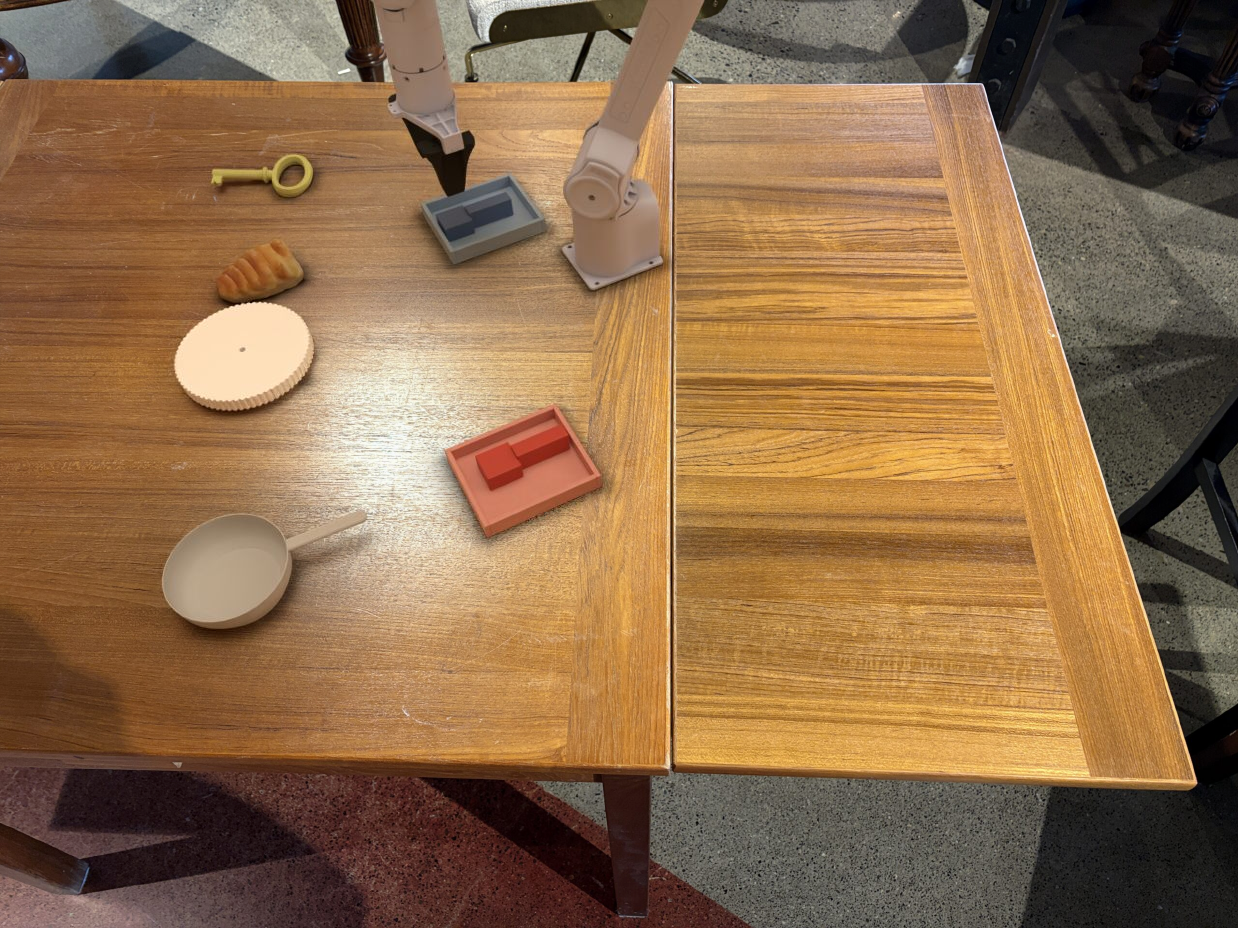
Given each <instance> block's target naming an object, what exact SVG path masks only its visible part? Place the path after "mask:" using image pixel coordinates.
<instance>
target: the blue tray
mask: <svg viewBox="0 0 1238 928" xmlns="http://www.w3.org/2000/svg"><path fill="white" fill-rule="evenodd" d="M523 188H524V187H522V186H521V184H520V182H519V181H518V180H517V178H516V177H515V176H514V174H513V173H512V172H508V173H506V174H503V175H500V176H497V177H494V178H491V179H487V180H485V181H482V182H478V183H476V184H473V185H470V186H467V187H465V191H464V192H462V193H459V194H456V195H453V196H450V197H447V195H446V194H444V195H441V196H438V197H435V198H432V199H429V200H426V201H423V202H420V204H419V205H420V207H421V211H422V215H423V217H424V219H425V221H426V223H427V224H428V226H429V227H430V229H431V230H432V232H433V234H434V235H435V237H436V239H437V240H438V242H439V244H440V245H441V247H442V249H443V250H444V251H445V253H446V255H447V256H448V258H449V259H450V262H451V263H452V265H456V264H459V263H462V262H464V261H468V260H470V259H474V258H477V257H479V256H481V255H485V254H487V253H489V252H492V251H496V250H498V249H501V248H504V247H506V246H509V245H512V244H515V243H518V242H520V241H523V240H525V239H529V238H532V237H534V236H537V235H540V234H543V233H545V232H547V225H546V218H545V217H544V216H543V215H542V213H541V211H540V210H539V209H538V207H537V206H536V205H535V203H534V202H533V200H532V199H531V198H530V196H529V195H528V194H527V193H526V191H525V190H524V189H523ZM504 192H507V194H508V195H509V196H510V198H511V200H512V207H513V213H514V215H512V216H509V217H506V218H503V219H500V220H497V221H495V222H492V223H489V224H486V225H483V226H480V227H477V228H475V233H474V234H471V235H468V236H466V237H463V238H460V239H457V240H454V241H452V242H449V241H448V240H447V238H446V236H445V235H444V233H443V232H442V230H441V228H440V227H439V225H438V223H437V218H436V214H438V213H440V212H443V211H446V210H449V209H452V208H455V207H458V206H461V205H463V206H466V205H469V204H472V203H475V202H478V201H481V200H483V199H486V198H489V197H492V196H495V195H498V194H501V193H504Z"/></svg>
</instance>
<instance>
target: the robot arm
mask: <svg viewBox="0 0 1238 928" xmlns="http://www.w3.org/2000/svg"><path fill="white" fill-rule="evenodd" d="M370 1H371V2H372V3H373V7H374V10H375V16H376V19H377V23H378V27H379V31H380V35H381V39H382V44H383V47H384V52H385V56H386V60H387V62H388V68H389V71H390V77H391V79H392V84H393V87H394V91H395V93H393V94H391V95H390V96H389V97H388V99H387V102H388V104H387V105H386V108H387V111H388V114H389V115H390V117H391V118H392V119H394V120H399V119H401V120H402V122H403V124H404V125H405V127H406V129H407V131H408V133H409V135H410V137H411V140H412V142H413V144H414V147H415V148H416V149H415V150H416V151H417V152H418V154H419V156H420V157H421V159H423V160H424V159H426V160H427V161H428V162H429V164H431V165H432V168H433V170H434V172H435V174H436V177H437V179H438V182H439V184H440V187H441V189H442V191H443V192H444V195H447V197H450V196H453V195H456V194H459V193H462V192H464V191H465V188H466V182H467V173H468V172H467V171H468V165H469V159H470V157H471V154H472V152H473V150H474V148H475V146H476V138H475V136H474V134H473V133H472V131H471V130H469V129H468V130H465V131H461V130H460V128H459V118H458V99H457V95H456V91H455V90H454V88H453V85H452V80H451V79H452V78H451V74H450V73H451V72H450V69H449V64H448V58H447V53H446V48H445V42H444V38H443V33H442V32H443V31H442V28H441V21H440V18H439V17H440V16H439V11H438V6H437V1H436V0H370ZM704 3H705V0H647V2H646V5H645V7H644V10H643V12H642V15H641V17H640V19H639V22H638V24H637V27H636V30H635V32H634V35H633V37H632V39H631V42H630V45H629V47H628V49H627V52H626V54H625V57H624V59H623V62H622V64H621V67H620V69H619V71H618V74H617V76H616V79H615V81H614V84H613V87H612V89H611V91H610V94H609V96H608V99H607V101H606V104H605V106H604V108H603V110H602V113H601V115H600V116H599V118H597V120H595V121H594V122H592V123H591V124H589V126H588V127H587V128H586V129H585V131H584V133H583V136H582V142H581V145H580V147H579V150H578V151H577V155H576V157H575V159H574V162H573V164H572V167H571V170H570V171H569V174H568V175H567V176H566V178H565V180H564V182H563V186H562V193H563V198H564V200H565V202H566V204H567V205H568V206H569V208H570V209H571V221H572V222H571V223H572V232H573V234H572V235H573V242H571V243H569V244H566V245H563V246H561V252H562V254H563V255H564V256H565V258H566V259H567V260H568V262H569V263H570V265H571V266H572V267H573V269H574V270H575V271H576V272H577V274H578V276H579V277H580V278H581V279H582V281H583V282H584V284H585V285H586V286H587V288H588V289H589V290H590V291H596V290H599V289H602V288H604V287H607V286H609V285H612V284H614V283H617V282H620V281H621V280H625V279H627V278H629V277H632V276H635V275H637V274H640V273H642V272H645V271H649V270H651V269H653V268H656V267H659V266H661V265H662V264H663V263H664V259H663V258H662V256H661V211H660V206H659V202H658V199H657V196H656V194H655V192H654V190H653V188H652V187H651V185H650V184H649V183H648V181H646V180H645V179H643V178H636V179H634V178H633V176H632V174H633V170H634V168H635V164H636V163H637V161H638V159H639V156H640V152H641V146H640V141H641V138H642V136H643V135H644V132H645V130H646V128H647V126H648V123H649V121H650V119H651V117H652V116H653V113H654V111H655V108H656V107H657V104H658V102H659V100H660V98H661V95H662V93H663V92H664V89H665V87H666V84H667V83H668V81H669V78H670V76H671V75H672V72H673V70H674V68H675V65H676V62H678V61H677V60H678V59H679V57H680V54H681V52H682V50H683V48H684V46H685V44H686V41H687V39H688V37H689V36H690V35H689V34H690V32H691V30H692V29H693V26H694V24H695V22H696V19H697V18H698V15H699V14H700V11H701V9H702V7H703V4H704Z"/></svg>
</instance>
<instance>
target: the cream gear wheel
mask: <svg viewBox="0 0 1238 928" xmlns="http://www.w3.org/2000/svg"><path fill="white" fill-rule="evenodd" d="M314 346H315V344H314V340H313V336H312V334H311V331H310V330H309V327H308V326H307V323H306V322H305V319H304V318H302V316H301V315H299V314H298V313H297V312H295V310H292V309H291V308H288V307H287V306H283V305H282V304H279V305H278V304H277V303H273V302H268V303H267V302H266V301H264V302H261V301H259V302H255V301H254V302H252V303H250V302H247V303H245V302H242V303H241V304H235V305H234V306H233V305H231V306H229V307H228V308H227V307H225V308H223V310H222V309H220V310H218V311H217V312H214V313H212V314H211V315H208V316H207V318H203V319H202V321H199V322H198V323H197V325H194V326H193V328H191V329H190V330H189V332H187V333H186V335H185V337H183V338H182V341H180V345H178V346H177V350H176V351H175V353H176V354H174V359H173V362H174V363H173V366H174V367H173V370H174V371H175V372H174V374H175V378H176V379H177V381H178V383H179V384H180V386H181V388H182V389H183V391H184V392H185V393H186V395H188V396H189V398H190V399H192V400H193V401H194V402H195V403H197V404H200V406H205V408H210V409H212V410H214V409H215V410H216V411H219V410H221V411H224V412H225V411H226V410H227V411H228V412H231V411H235V412H237V411H238V410H239V411H243V410H244V409H246V410H250V408H252V409H254V408H256V407H262V405H263V404H264V405H267V404H268V402H274V400H275V399H276V400H278V399H279V398H280V396H284V395H285V393H288V392H290V389H293V388H294V386H295V385H297V384H299V381H301V380H302V377H305V375H306V373H308V371H309V369H310V367H311V365H310V364H312V360H313V359H314V356H313V355H314V354H315V347H314Z"/></svg>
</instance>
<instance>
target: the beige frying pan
mask: <svg viewBox="0 0 1238 928" xmlns="http://www.w3.org/2000/svg"><path fill="white" fill-rule="evenodd" d="M367 519H368V514H367V512H366V510H364V509H359V510H356V511H354V512H351V513H348V514H347V515H344V516H341V517H339V518H336V519H334V520H331V521H329V522H326V523H324V524H321V525H319V526H316V527H314V528H311V529H309V530H306V531H303V532H301V533H298V534H296V535H294V536H291V537H288V538H286V537H285V534H283V532H282V530H281V529H280V528H279V527H278V526H277V525H276V524H275V523H274V522H272V521H270V520H269V519H267V518H266V517H263V516H260V515H257V514H251V513H229V514H225V515H221V516H217V517H214V518H212V519H210V520H207V521H205V522H202V523H201V524H200V525H198V526H196V527H195V528H193V529H192V530H191V531H189V532H188V533H187V534H185V536H183V538H181V539H180V541H179V542H178V543H176V545H175V546H174V548H173V549H172V550H171V552H170V554H169V556H168V558H167V559H166V562H165V565H164V567H163V572H162V575H161V576H162V577H161V588H162V592H163V596H164V598H165V600H166V602H167V604H168V606H170V608H172V609H173V611H174V612H175V613H177V614H178V615H179V616H180V617H181V618H184V619H185V620H186V621H188V622H190V623H191V624H193V625H195V626H198V627H200V628H207V629H210V630H211V629H213V630H215V629H216V630H217V629H219V630H220V629H221V630H225V629H227V630H228V629H233V628H238V627H243V626H247V625H249V624H252V623H254V622H256V621H258V620H260V619H261V618H263V617H264V616H266V615H267V614H268V613H269V612H270V611H272V610H273V609H274V607H275V606H276V605H277V604H278V603H279V601H280V600H281V599H282V597H283V595H284V593H285V591H286V590H287V587H288V585H289V582H290V578H291V575H292V571H293V557H292V553H291V552H293V551H295V550H298V549H300V548H303V547H306V546H308V545H310V544H313V543H315V542H318V541H321V540H322V539H323V540H324V539H325V538H328V537H330V536H333V535H335V534H338V533H341V532H343V531H345V530H348V529H350V528H353V527H356V526H358V525H361V524H363V523H365V522H366V521H367Z"/></svg>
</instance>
